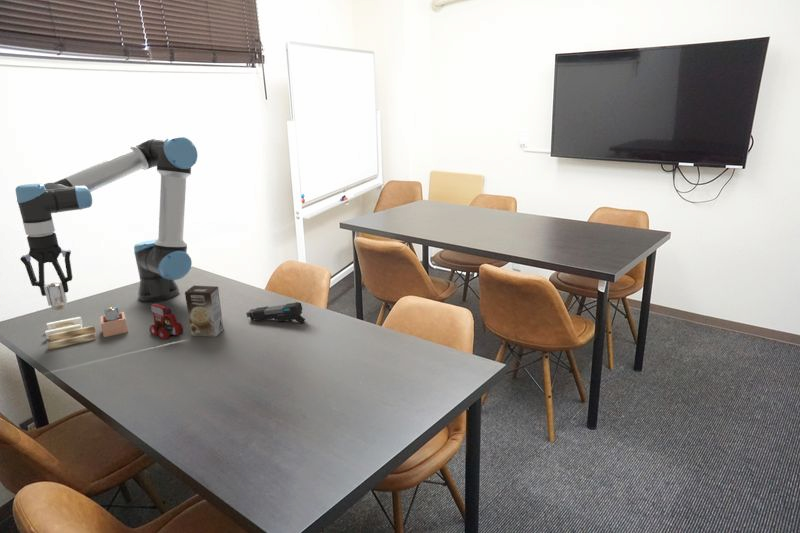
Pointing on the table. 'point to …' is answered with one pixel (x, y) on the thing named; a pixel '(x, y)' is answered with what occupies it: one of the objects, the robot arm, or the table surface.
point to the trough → (71, 337)
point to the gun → (278, 313)
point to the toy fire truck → (164, 322)
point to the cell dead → (111, 314)
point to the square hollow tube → (114, 325)
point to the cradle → (52, 327)
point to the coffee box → (204, 310)
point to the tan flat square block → (64, 325)
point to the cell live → (56, 296)
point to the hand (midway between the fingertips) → (58, 302)
